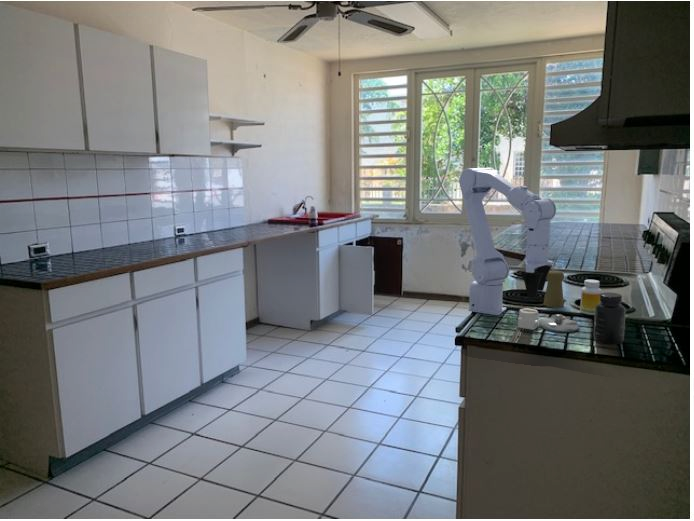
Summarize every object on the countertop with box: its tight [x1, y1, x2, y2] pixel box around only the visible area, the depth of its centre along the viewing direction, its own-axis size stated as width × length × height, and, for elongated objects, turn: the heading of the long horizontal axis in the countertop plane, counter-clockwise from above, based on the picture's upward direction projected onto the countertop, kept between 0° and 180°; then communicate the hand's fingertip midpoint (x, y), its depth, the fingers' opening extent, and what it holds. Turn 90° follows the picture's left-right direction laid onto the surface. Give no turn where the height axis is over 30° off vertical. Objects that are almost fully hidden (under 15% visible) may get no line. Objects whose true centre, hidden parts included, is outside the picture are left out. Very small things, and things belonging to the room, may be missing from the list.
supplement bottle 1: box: [579, 279, 602, 316], centre depth 148 cm, size 5×5×10 cm
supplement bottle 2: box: [593, 291, 626, 345], centre depth 125 cm, size 7×7×12 cm
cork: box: [543, 270, 565, 309], centre depth 157 cm, size 6×6×11 cm
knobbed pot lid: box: [538, 313, 579, 333], centre depth 137 cm, size 10×10×3 cm
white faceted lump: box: [517, 307, 540, 331], centre depth 138 cm, size 5×4×5 cm
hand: (535, 293), depth 137 cm, fingers open, 7 cm apart
